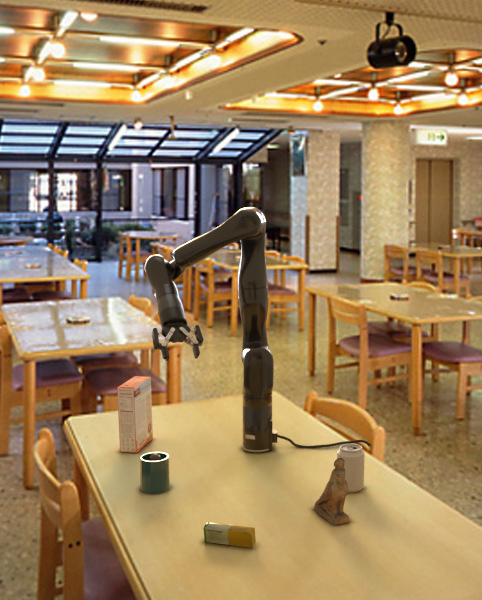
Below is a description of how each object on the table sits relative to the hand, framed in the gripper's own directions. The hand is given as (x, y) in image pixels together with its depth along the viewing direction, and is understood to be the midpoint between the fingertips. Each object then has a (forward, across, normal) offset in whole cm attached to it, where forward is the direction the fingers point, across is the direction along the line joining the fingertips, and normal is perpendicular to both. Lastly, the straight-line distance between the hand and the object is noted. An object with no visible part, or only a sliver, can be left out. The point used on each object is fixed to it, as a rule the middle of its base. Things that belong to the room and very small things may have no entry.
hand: (182, 358), depth 226 cm
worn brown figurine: (+57, +24, -11) cm, 63 cm away
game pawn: (+31, -11, +14) cm, 36 cm away
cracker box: (+6, -8, +41) cm, 42 cm away
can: (+48, +37, -1) cm, 60 cm away
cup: (+32, -12, +14) cm, 37 cm away
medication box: (+60, -4, -14) cm, 62 cm away
